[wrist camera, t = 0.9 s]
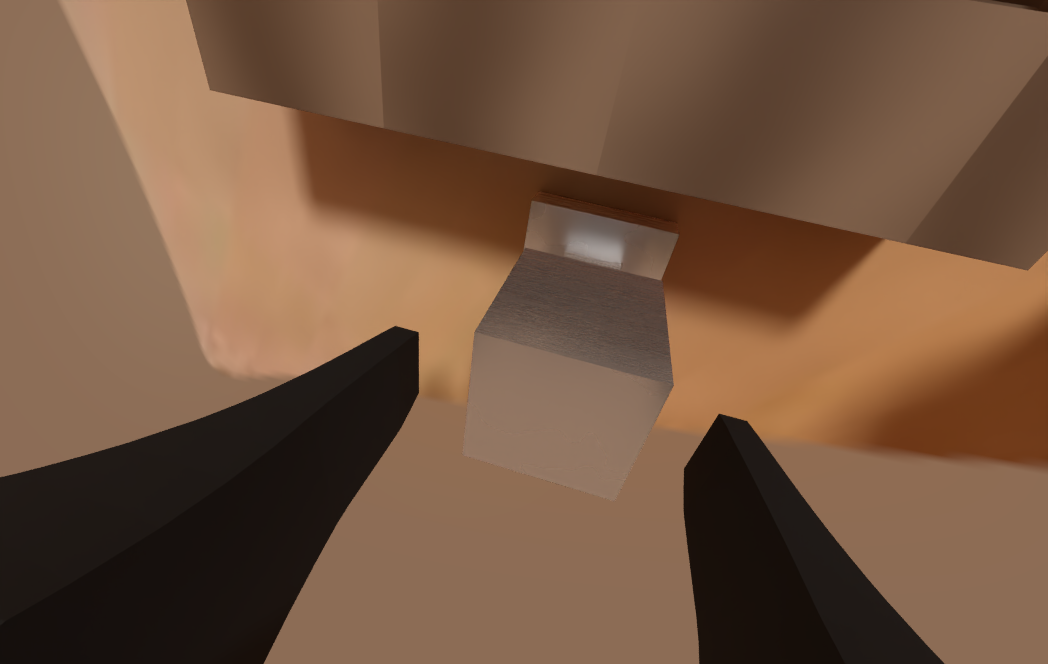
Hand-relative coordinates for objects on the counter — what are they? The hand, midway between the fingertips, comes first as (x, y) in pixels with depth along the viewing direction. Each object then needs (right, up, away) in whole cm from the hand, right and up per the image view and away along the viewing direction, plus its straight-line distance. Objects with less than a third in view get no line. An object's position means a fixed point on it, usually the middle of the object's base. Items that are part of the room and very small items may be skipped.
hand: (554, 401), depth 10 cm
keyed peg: (+2, +4, +6) cm, 8 cm away
